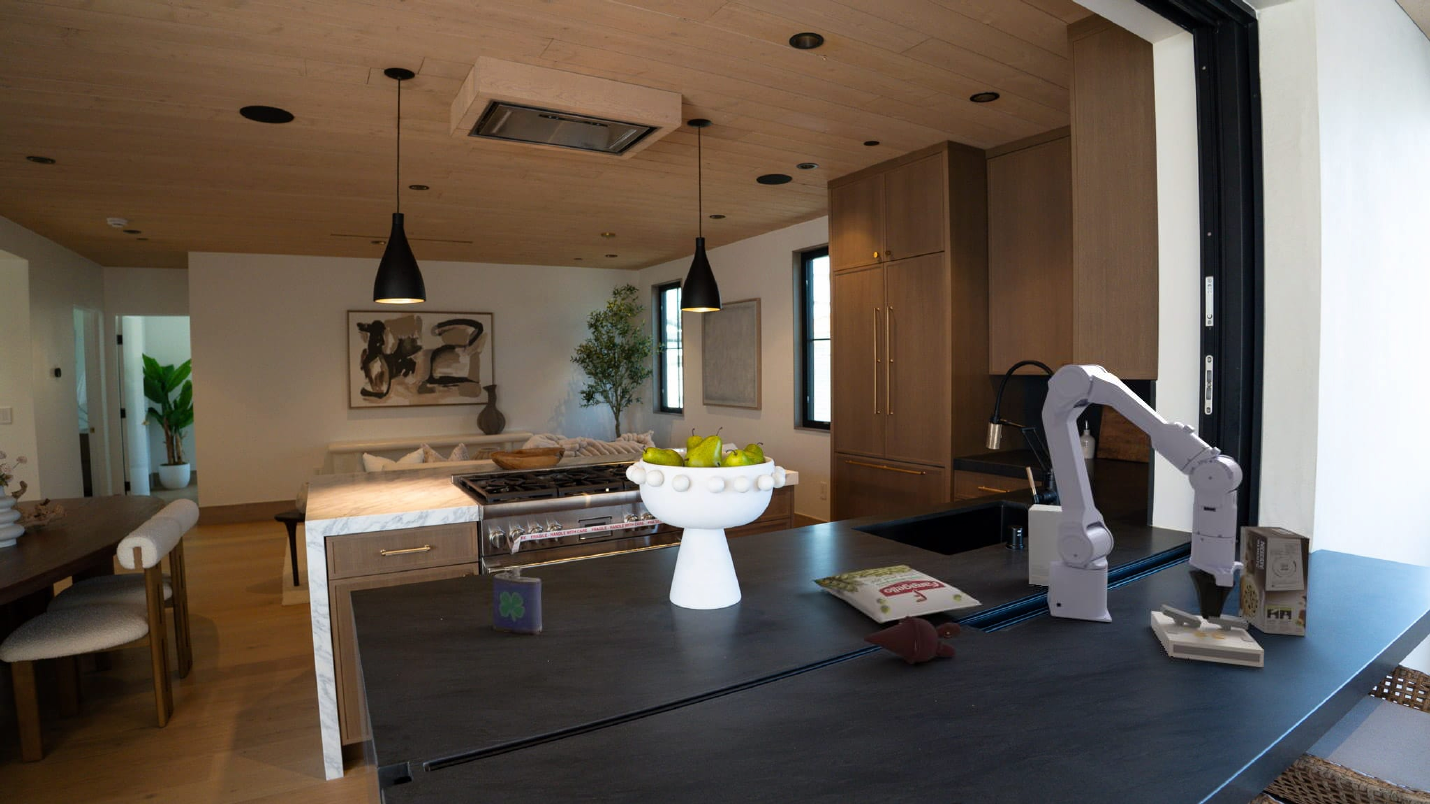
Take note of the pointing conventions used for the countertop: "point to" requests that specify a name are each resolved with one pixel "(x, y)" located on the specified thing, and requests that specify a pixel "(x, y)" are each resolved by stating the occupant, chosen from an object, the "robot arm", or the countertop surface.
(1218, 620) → the rocker right
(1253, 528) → the coffee box
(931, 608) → the frozen beans
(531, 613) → the flask
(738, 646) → the countertop surface
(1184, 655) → the console
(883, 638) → the icecream
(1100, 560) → the robot arm
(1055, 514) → the skincare box
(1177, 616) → the block
